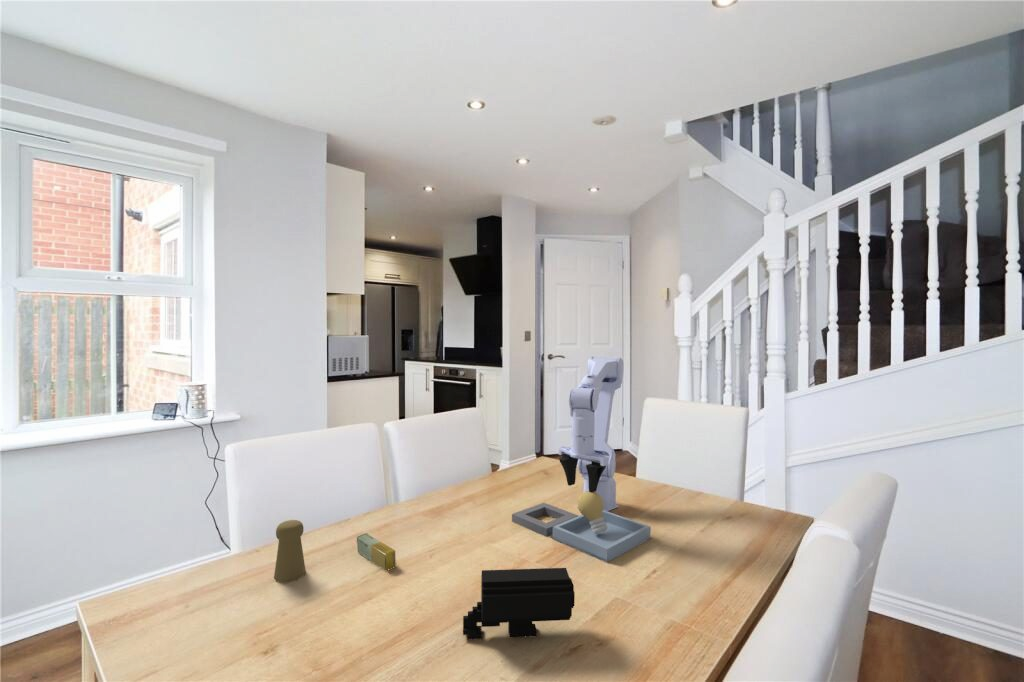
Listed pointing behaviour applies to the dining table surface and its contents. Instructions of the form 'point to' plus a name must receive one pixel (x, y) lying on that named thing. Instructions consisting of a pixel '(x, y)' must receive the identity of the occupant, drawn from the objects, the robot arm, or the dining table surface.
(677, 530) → the dining table surface
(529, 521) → the socket block
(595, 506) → the light bulb
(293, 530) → the cork
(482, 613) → the security camera
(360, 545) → the medication box
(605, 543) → the parts tray
